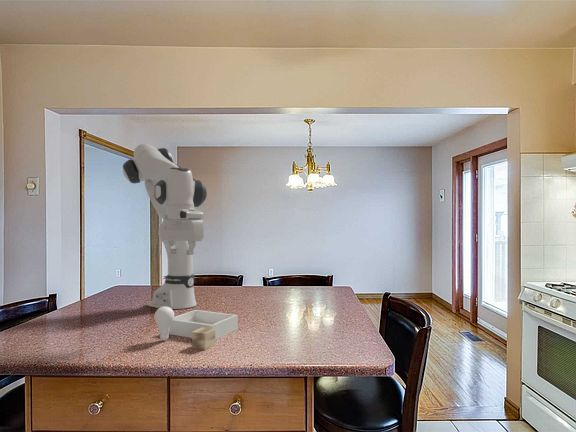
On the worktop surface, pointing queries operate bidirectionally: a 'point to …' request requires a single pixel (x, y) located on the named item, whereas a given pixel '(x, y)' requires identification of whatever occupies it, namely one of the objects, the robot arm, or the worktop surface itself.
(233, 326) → the tote
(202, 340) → the maple cube
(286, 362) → the worktop surface
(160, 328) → the lightbulb
